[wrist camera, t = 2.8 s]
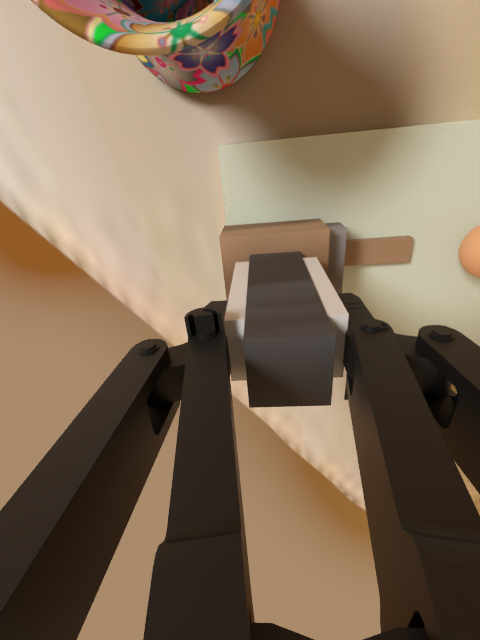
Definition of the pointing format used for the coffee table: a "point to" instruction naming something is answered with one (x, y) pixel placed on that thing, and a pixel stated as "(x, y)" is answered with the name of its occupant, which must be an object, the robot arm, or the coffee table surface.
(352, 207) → the pitch
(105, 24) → the mug
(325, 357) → the kicker
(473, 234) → the ball
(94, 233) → the coffee table surface
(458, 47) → the coffee table surface
